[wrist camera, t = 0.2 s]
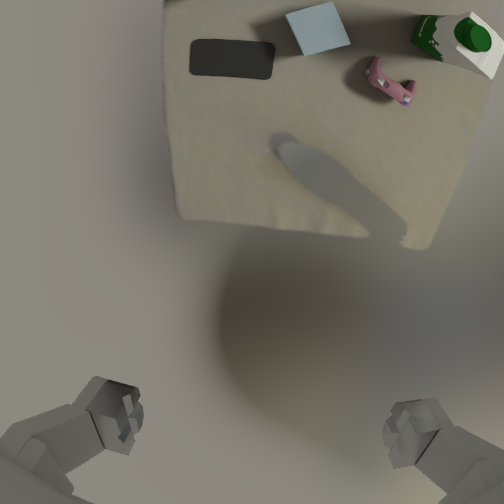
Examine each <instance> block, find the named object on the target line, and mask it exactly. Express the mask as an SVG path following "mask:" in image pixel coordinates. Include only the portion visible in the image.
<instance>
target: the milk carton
mask: <svg viewBox="0 0 504 504" xmlns="http://www.w3.org/2000/svg"><path fill="white" fill-rule="evenodd" d="M411 42H412V43H414V44H415V45H417V46H419V47H420V48H422V49H423V50H425V51H426V52H428V53H429V54H430V55H432V56H433V57H435V58H436V59H438V60H439V61H441V62H445V63H448V64H452V65H455V66H459V67H462V68H465V69H468V70H471V71H473V72H475V73H478V74H480V75H482V76H484V77H487V78H489V79H491V80H492V79H493V77H494V75H495V72H496V70H497V68H498V65H499V63H500V61H501V58H502V56H503V54H504V41H503V40H502V39H501V38H500V37H499V36H498V35H497V33H496V32H495V31H494V30H493V29H492V28H490V27H489V26H488V25H487V24H486V23H485V22H484V21H483V20H482V19H480V18H479V17H478V16H477V15H476V14H474V13H473V12H472V11H470V12H467V13H464V14H462V15H443V16H438V15H422V17H421V20H420V22H419V24H418V26H417V29H416V31H415V33H414V35H413V38H412V40H411Z"/></svg>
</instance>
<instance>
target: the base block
mask: <svg viewBox="0 0 504 504" xmlns="http://www.w3.org/2000/svg"><path fill="white" fill-rule="evenodd" d="M285 18H286V20H287V22H288V24H289V26H290V28H291V30H292V32H293V34H294V37H295V39H296V41H297V43H298V45H299V47H300V50H301V52H302V54H303V56H308V55H312V54H315V53H319V52H322V51H326V50H329V49H333V48H337V47H341V46H345V45H350V44H351V43H350V41H349V38H348V36H347V33H346V31H345V29H344V26H343V24H342V22H341V19H340V17H339V15H338V13H337V10H336V8H335V6H334V4H333V2H329V3H325V4H321V5H317V6H313V7H309V8H306V9H302V10H299V11H295V12H292V13H289V14H286V15H285Z"/></svg>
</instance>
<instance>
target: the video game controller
mask: <svg viewBox="0 0 504 504" xmlns="http://www.w3.org/2000/svg"><path fill="white" fill-rule="evenodd" d="M380 66H381V59H380V57H378V56H377V57H375V58H374V59H373V61H372V63H371V66H370V70H369V76H368V80H369V82H370V83H371V85H372V86H373V87H376V88H378V89H381V90H382V91H384V92H385V93H386V94H388V95H389V96H391V97H393V98H394V99H396V100H398V101H399V102H400V103H401V104H402V105H404V106H406V107H408V106H409V105H410V104H411V103H412V101H413V99H414V97H415V92H416V87H417V84H416V81H414V80H412V81H411V82H409V84H408V85H407V87H406V89H404V88H403V87H402V86H401V85H400V84H399V83H398V82H396V81H394V80H391V79H389V78H388V77H387V76H385V75H384V74H382V73H381V71H380Z"/></svg>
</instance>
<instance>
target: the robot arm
mask: <svg viewBox="0 0 504 504" xmlns="http://www.w3.org/2000/svg"><path fill="white" fill-rule="evenodd" d="M139 398H140V392H139V389H138V388H137V387H135V386H131V385H127V384H124V383H120V382H116V381H113V380H108V379H105V378H102V377H98V376H95V377H93V378H92V379H91V380H90V381H89V383H88V384H87V385H86V387H85V388H84V389H83V390H82V392H81V393H80V394H79V395H78V397H77V398H76V399H75V401H74V402H73V403H72V405H70V404H66V405H63V406H60V407H58V408H55V409H53V410H50V411H47V412H44V413H42V414H39V415H37V416H33V417H31V418H28V419H25V420H22V421H20V422H16V423H13V424H12V425H11V426H10V427H9V428H8V430H7V431H6V432H5V433H4V434H3V436H2V437H1V438H0V504H93V503H91V502H88V501H86V500H84V499H81V498H79V497H77V496H75V495H72V492H73V490H74V487H73V484H72V483H71V482H70V480H69V479H68V478H67V476H66V475H65V474H67V473H68V472H70V471H72V470H73V469H75V468H77V467H78V466H80V465H82V464H83V463H85V462H86V461H88V460H89V459H91V458H93V457H94V456H96V455H97V454H99V453H100V452H102V451H104V449H108V450H111V451H115V452H118V453H122V454H125V455H129V453H130V451H131V449H132V446H133V444H134V442H135V440H134V436H133V435H134V434H136V433H137V432H139V431H140V429H141V426H142V423H143V418H144V417H143V416H144V414H143V406H142V405H141V404H140V403H139V402H138V400H139ZM391 413H392V416H391V417H389V418H388V419H387V420H386V422H385V424H384V426H383V432H382V436H383V441H384V444H385V446H387V447H388V448H390V452H389V458H390V461H391V464H392V466H393V469H395V468H400V467H406V466H412V465H415V467H416V468H418V469H419V470H420V471H421V472H422V473H423V474H425V475H426V476H427V477H428V478H429V479H431V480H432V481H433V482H434V483H435V484H436V485H438V486H439V487H440V488H441V489H442V490H444V491H445V492H446V493H447V495H446V496H445V497H444V498H443V499H442V500H441V501H440V502H439V503H438V504H504V450H503V449H500V448H499V447H497V446H495V445H493V444H491V443H489V442H487V441H485V440H483V439H481V438H480V437H478V436H476V435H474V434H472V433H470V432H468V431H466V430H465V429H463V428H461V427H459V426H454V425H453V423H452V422H451V420H450V419H449V417H448V415H447V414H446V412H445V411H444V409H443V408H442V406H441V405H440V403H439V402H438V400H437V399H436V398H435V397H430V398H424V399H418V400H411V401H404V402H396V403H395V404H394V405H393V407H392V409H391Z"/></svg>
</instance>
